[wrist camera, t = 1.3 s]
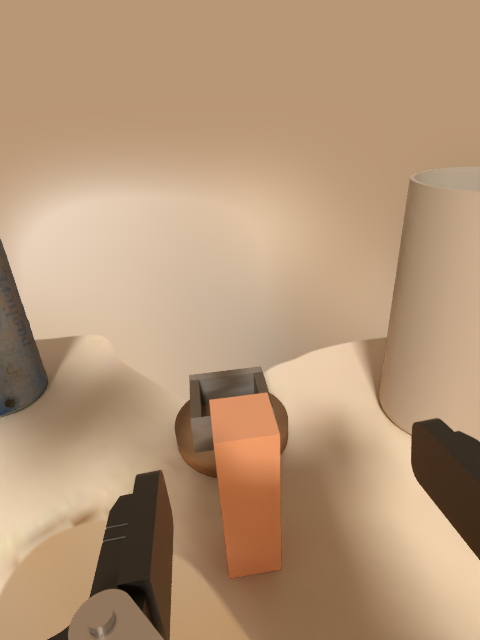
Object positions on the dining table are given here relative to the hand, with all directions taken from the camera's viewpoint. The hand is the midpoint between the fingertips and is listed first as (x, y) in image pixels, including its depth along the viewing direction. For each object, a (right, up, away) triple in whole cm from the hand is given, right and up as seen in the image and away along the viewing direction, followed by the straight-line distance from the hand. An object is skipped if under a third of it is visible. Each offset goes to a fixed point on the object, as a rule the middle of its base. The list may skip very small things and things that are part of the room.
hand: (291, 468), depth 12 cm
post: (-1, -14, +20) cm, 24 cm away
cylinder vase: (+21, -6, +33) cm, 39 cm away
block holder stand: (-2, -8, +31) cm, 32 cm away
